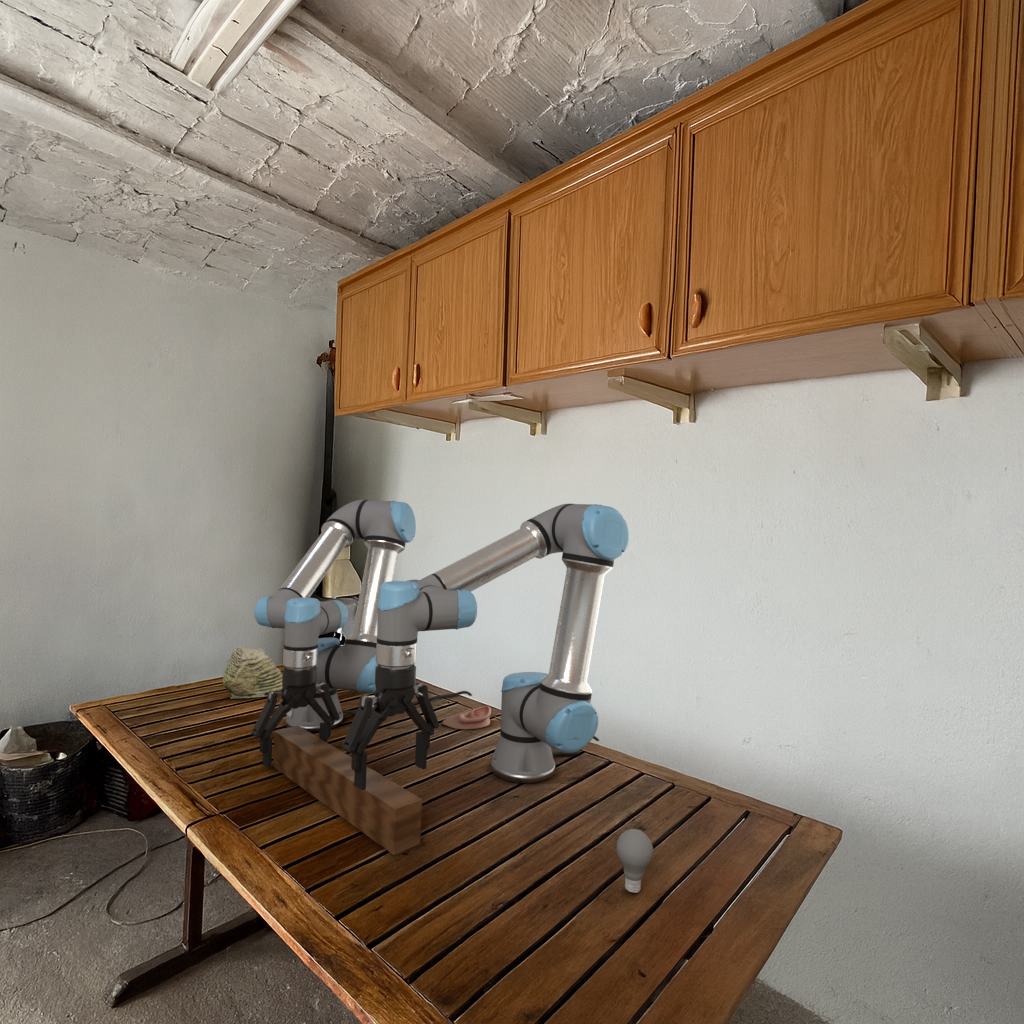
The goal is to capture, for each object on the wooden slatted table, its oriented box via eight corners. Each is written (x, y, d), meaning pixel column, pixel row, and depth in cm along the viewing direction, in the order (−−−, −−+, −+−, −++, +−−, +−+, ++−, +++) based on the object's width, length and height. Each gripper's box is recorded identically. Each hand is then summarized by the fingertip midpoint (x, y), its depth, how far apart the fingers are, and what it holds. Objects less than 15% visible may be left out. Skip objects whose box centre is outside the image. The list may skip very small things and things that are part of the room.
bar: (272, 766, 147) (274, 730, 147) (296, 759, 152) (298, 725, 152) (393, 855, 113) (395, 809, 113) (420, 843, 117) (422, 799, 117)
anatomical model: (438, 712, 177) (451, 700, 188) (438, 726, 177) (450, 713, 188) (484, 718, 174) (494, 705, 185) (484, 732, 174) (493, 718, 185)
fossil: (218, 695, 195) (220, 647, 195) (278, 685, 208) (279, 640, 207) (228, 703, 189) (230, 653, 188) (289, 692, 201) (290, 645, 201)
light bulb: (610, 879, 108) (613, 822, 108) (644, 879, 109) (647, 822, 109) (619, 902, 102) (622, 840, 102) (655, 901, 103) (658, 840, 103)
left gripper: (253, 678, 133) (248, 778, 134) (356, 662, 151) (352, 750, 151) (238, 670, 139) (234, 767, 139) (340, 655, 157) (336, 741, 157)
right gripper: (347, 680, 107) (342, 804, 108) (459, 658, 125) (455, 765, 125) (325, 670, 112) (320, 789, 113) (435, 651, 130) (431, 753, 131)
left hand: (295, 758), depth 145 cm, fingers open, 13 cm apart
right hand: (391, 776), depth 119 cm, fingers open, 13 cm apart
